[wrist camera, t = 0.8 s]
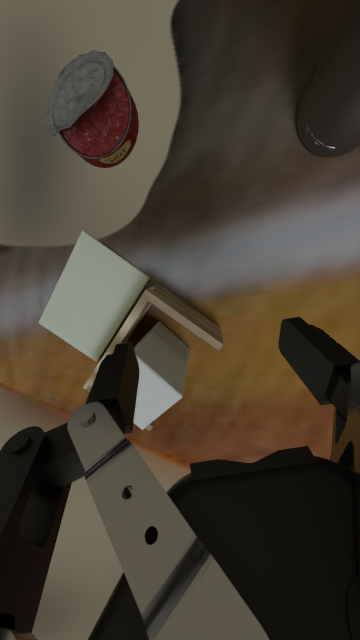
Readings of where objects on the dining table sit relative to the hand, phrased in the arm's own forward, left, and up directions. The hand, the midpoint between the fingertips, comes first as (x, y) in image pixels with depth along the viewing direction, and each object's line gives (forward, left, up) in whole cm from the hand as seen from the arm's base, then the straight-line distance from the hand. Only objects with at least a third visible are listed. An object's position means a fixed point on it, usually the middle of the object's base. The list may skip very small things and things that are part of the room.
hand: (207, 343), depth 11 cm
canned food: (-9, -24, -22) cm, 34 cm away
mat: (+13, -14, -21) cm, 29 cm away
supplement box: (+13, 0, -22) cm, 25 cm away
